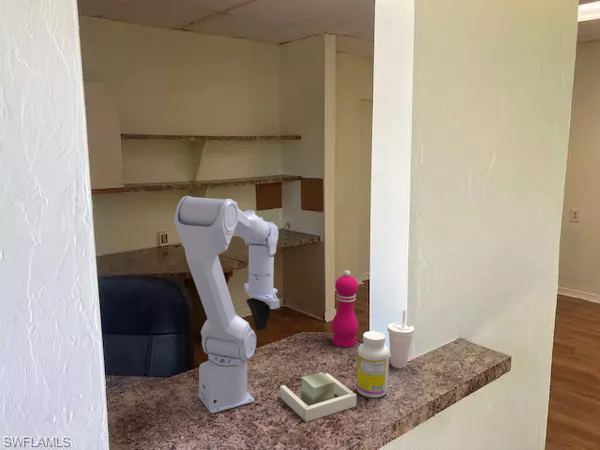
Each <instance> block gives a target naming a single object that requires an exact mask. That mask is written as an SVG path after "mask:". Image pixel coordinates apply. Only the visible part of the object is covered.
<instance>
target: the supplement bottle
mask: <svg viewBox="0 0 600 450" xmlns="http://www.w3.org/2000/svg"><path fill="white" fill-rule="evenodd" d="M362 341H363V343H361V344H360V345H359V346H358V349H357V366H356V367H357V368H356V390H357V392H358V393H359V394H360V395H362V396H364V397H367V398H374V399H376V398H381V397H383V396H385V395H386V394H387V393H388V385H389V384H388V383H389V382H388V381H389V380H388V379H389V365H390V364H389V362H390V349H389V348H388V346H386V345H385V343H386V334H384V333H382V332H379V331H374V330H372V331H371V330H370V331H365V332H364V333H363V334H362Z"/></svg>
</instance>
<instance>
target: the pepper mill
mask: <svg viewBox="0 0 600 450" xmlns="http://www.w3.org/2000/svg"><path fill="white" fill-rule="evenodd" d="M334 289H335V291H336V292H337V293H336V300H337V302H338V303H337V310H336V313H335V315H334V317H333V319H332V320H331V325H330V326H331V327H330V328H331V331H332V332H333V335H332V344H334V345H335V346H336V347H341V348H351V347H354V346H355V345H356V344H357V336H356V334H357V333H358V331H359V322H358V319H357V316H356V313H355V312H354V311H355V310H354V302H355V301H356V296H357V295H356V294H355V293H356V292H357V291H358V289H359V283H358V280H357V279H356V278H355V277H354V276H351V271H350V270H344V272H343V275H342V276H339V277H338V278H337V279H336V281H335V285H334Z"/></svg>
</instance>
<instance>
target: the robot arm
mask: <svg viewBox="0 0 600 450" xmlns="http://www.w3.org/2000/svg"><path fill="white" fill-rule="evenodd" d="M173 223H174V226H175V228H176V231H177V234H178V237H179V240H180V244H181V245H182V247H183V248H184V253H185V254H184V255H185V258H186V263H187V265H188V267H189V270H190V273H191V276H192V279H193V282H194V284H195V287H196V290H197V293H198V295H199V296H198V297H199V299H200V302H201V305H202V306H203V309H204V312H205V316H206V318H207V319H206V320H205V321H204V323H203V325H202V328H201V331H200V335H201V345H202V346H201V347H202V349H203V352H204V354H207V356H208V358H207V359H208V360H207V361H205V362H202V363H200V364H199V367H198V389H199V391H198V394H197V395H198V398H199V399H200V401H201V402H202V403H203V404H204V406H205V408H206V409H207V410H208V412H210V414H215V413H219V412H222V411H226V410H229V409H234V408H237V407H240V406H245V405H247V404H251V403H255V398H254V397H253V395H251V394H250V392H249V391H248V361H249V360H250V359H251V358H252V357H253V355H254V353H255V350H256V347H257V335H256V333H255V331H254V329H252V327H251V326H250V322H248V321H246V320H245V319H243V318H242V317H240V316H239V315H237V313H236V311H235V307H234V304H233V301H232V300H233V299H232V297H231V293H230V291H229V286H228V285H227V282H226V278H225V274H224V271H223V268H222V264H221V262H220V257H219V255H220V254H222V253H224V252H226V251H228V248H229V245H230V243H231V242H232V241H231V240H232V237H233V235H234V233H235V235H236V236H237V237H239V238H241V239H243V240H244V243H245V246H248V282H247V283H243V292H245V293H246V294H247V296H248V297H249V298H248V299H247V298H246V304H247V305H248V308H249V310H250V313H251V316H252V321H253V324H254V328H255V330H257V332H259V331H265V330H267V329H266V328H267V325H268V322H269V319H270V315H271V313H272V311H273V310H276V309H280V299H279V298H278V297H277V293H278V291H279V290H278V288H275V287H274V276H275V275H274V273H275V271H274V264H275V263H274V261H275V259H274V258H275V254H276V253H277V244H278V241H279V240H278V239H279V228H278V226H277V224H275V223H274V222H273V221H265V220H264V218H263V217H262V216H258V215H257V214H256V211H255V210H253V209H246V210H245V211H244V210H243V211H242V210H241V209H240V208H239V207H238V202H237V201H234V200H233V199H231V198H225V199H223V198H210V197H198V196H197V197H195V196H190V195H185V196H183V197H181V198H180V200H179V202H178V203H177V206H176V209H175V214H174V219H173Z"/></svg>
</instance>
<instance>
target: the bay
mask: <svg viewBox="0 0 600 450" xmlns="http://www.w3.org/2000/svg"><path fill="white" fill-rule="evenodd" d="M324 374H325V375H327V376H328V377H329V378H330V379H332V380H333V381H334V382H335V396H337V397H335V398H334V399H330V400H327V401H324V402H321V403H317V404H314V405H311V406H308V405H307V404H306V403H305V402H304V401H303V400H302V399H301V398H300V397H298V396H297V394H295V393H294V392H293V391H292V390H290V389H289V388H288V387H287V386H286V384H283V385H280V386H279V390H280V391H279V398H280V399H281V400H283V401H284V403H285V404H287V406H289V407H290V408H291V410H293V411H294V412H295V413H296V414H297V415H298V416H299V417H300V418H301V419H303V421H304V422H305V423H307V422H310V421H315V420H316V419H320V418H322V417H326V416H329V415H333V414H335V413H338V412H341V411H345V410H348V409H351V408H355V407H357V393H355V392H354V391H352V390H351V389H350V388H348V387H347V386H346V385H345V384H343V383H342V382H341V381H339V380H338V379H336V378H335V377H333V376H332V375H331V374H329V373H328V372H327V373H324Z"/></svg>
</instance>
